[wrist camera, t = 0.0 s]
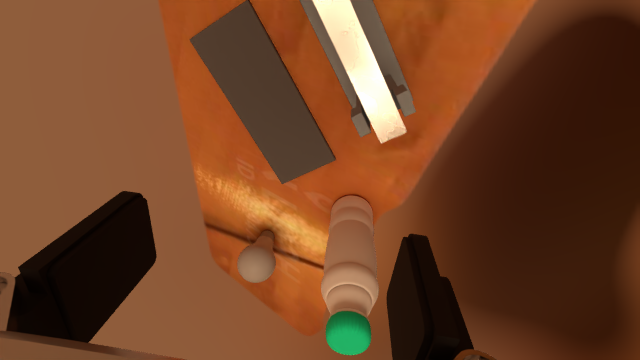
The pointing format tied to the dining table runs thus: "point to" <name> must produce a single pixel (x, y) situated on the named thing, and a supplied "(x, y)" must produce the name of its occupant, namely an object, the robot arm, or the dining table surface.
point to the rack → (381, 52)
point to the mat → (262, 93)
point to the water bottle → (350, 275)
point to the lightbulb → (258, 259)
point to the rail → (361, 67)
